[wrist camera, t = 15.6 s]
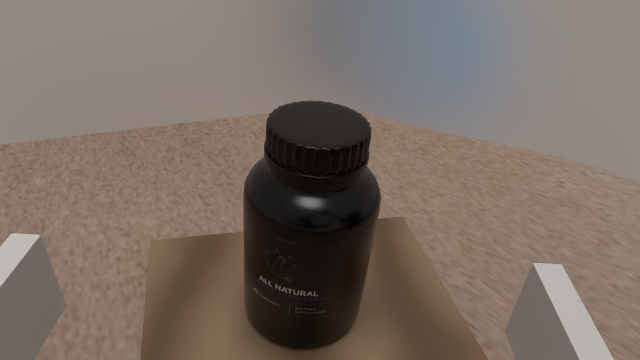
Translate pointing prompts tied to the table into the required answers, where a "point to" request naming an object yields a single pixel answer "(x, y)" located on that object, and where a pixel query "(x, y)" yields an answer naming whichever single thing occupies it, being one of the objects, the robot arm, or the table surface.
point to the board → (271, 356)
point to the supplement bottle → (309, 223)
